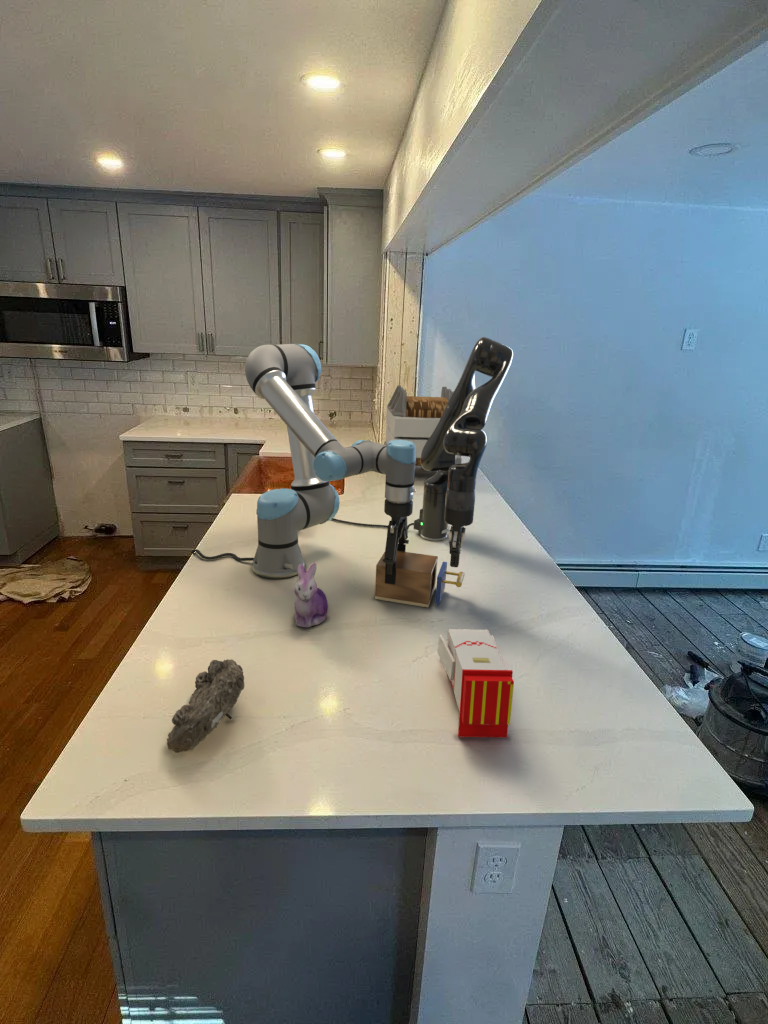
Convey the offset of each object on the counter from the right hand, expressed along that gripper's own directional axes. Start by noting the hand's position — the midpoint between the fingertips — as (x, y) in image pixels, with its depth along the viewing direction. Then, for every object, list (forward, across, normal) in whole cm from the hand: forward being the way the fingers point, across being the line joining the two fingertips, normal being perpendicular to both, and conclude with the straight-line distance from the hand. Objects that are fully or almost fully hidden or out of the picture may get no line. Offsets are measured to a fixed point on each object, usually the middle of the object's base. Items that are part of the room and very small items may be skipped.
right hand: (454, 565), depth 152 cm
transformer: (+10, +123, +32) cm, 128 cm away
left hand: (+5, 0, +16) cm, 17 cm away
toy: (+11, -38, -9) cm, 41 cm away
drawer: (+10, 0, +7) cm, 12 cm away
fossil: (+11, -60, +38) cm, 72 cm away
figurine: (+11, -21, +33) cm, 40 cm away
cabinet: (+10, 0, +13) cm, 17 cm away
